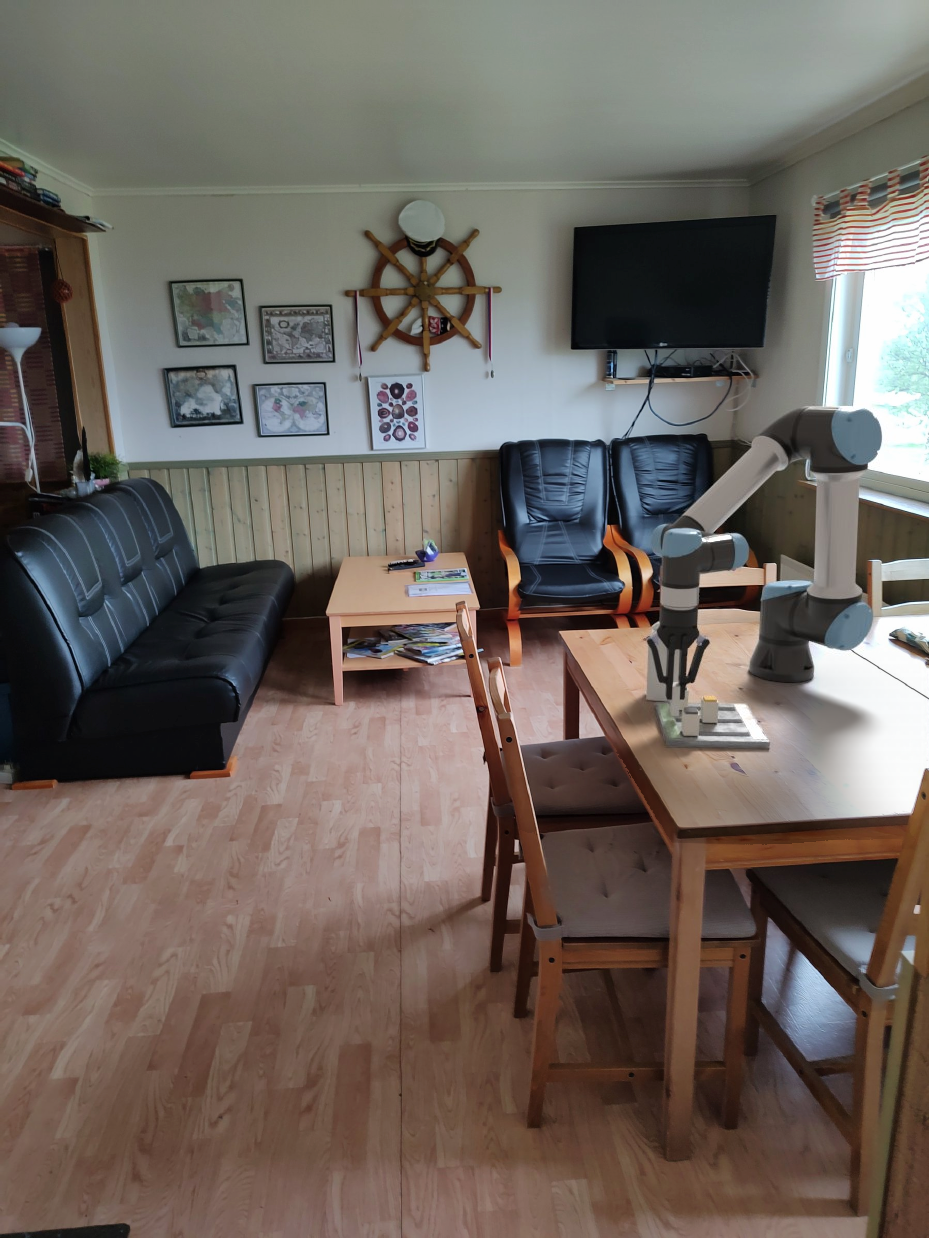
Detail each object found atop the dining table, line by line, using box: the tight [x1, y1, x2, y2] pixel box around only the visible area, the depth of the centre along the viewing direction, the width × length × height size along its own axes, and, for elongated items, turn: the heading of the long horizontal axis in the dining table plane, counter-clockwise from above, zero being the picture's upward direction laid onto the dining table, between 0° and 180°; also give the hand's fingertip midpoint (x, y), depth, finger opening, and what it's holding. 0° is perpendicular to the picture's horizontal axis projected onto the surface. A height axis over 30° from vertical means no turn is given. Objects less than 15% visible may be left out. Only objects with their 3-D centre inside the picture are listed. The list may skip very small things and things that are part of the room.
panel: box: [654, 701, 771, 750], centre depth 180 cm, size 20×21×2 cm
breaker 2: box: [681, 707, 700, 736], centre depth 173 cm, size 3×3×5 cm
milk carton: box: [645, 621, 679, 702], centre depth 196 cm, size 7×7×19 cm
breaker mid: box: [700, 695, 720, 723], centre depth 179 cm, size 3×3×5 cm
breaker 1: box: [679, 685, 689, 710], centre depth 186 cm, size 3×3×5 cm
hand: (674, 713), depth 180 cm, fingers closed
